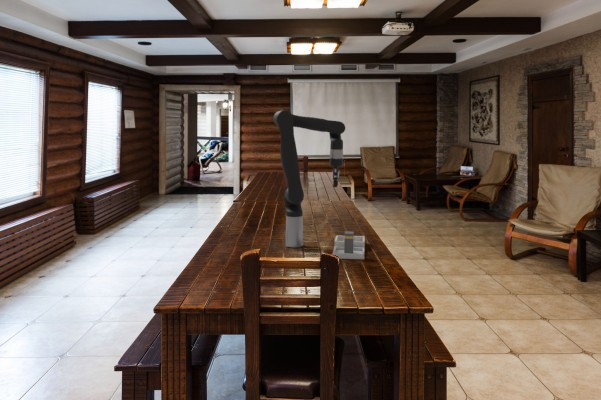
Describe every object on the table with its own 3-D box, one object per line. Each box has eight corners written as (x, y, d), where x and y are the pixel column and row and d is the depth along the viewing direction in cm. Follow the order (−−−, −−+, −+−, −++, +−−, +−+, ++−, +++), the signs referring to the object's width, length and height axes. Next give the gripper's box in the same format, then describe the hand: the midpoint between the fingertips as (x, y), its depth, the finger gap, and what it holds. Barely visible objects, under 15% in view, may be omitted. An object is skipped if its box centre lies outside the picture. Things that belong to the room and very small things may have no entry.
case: (334, 251, 264) (334, 242, 263) (336, 244, 279) (336, 235, 278) (364, 252, 262) (364, 242, 261) (364, 244, 277) (364, 236, 276)
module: (344, 254, 253) (344, 233, 252) (344, 251, 258) (344, 231, 257) (353, 254, 253) (353, 233, 251) (353, 252, 258) (353, 231, 256)
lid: (332, 258, 250) (332, 253, 250) (334, 251, 264) (334, 246, 263) (364, 259, 248) (364, 254, 247) (364, 252, 262) (364, 247, 261)
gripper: (330, 156, 283) (329, 184, 285) (328, 158, 269) (328, 187, 271) (343, 156, 282) (342, 185, 284) (342, 158, 268) (341, 188, 270)
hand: (335, 186), depth 278 cm, fingers open, 8 cm apart
